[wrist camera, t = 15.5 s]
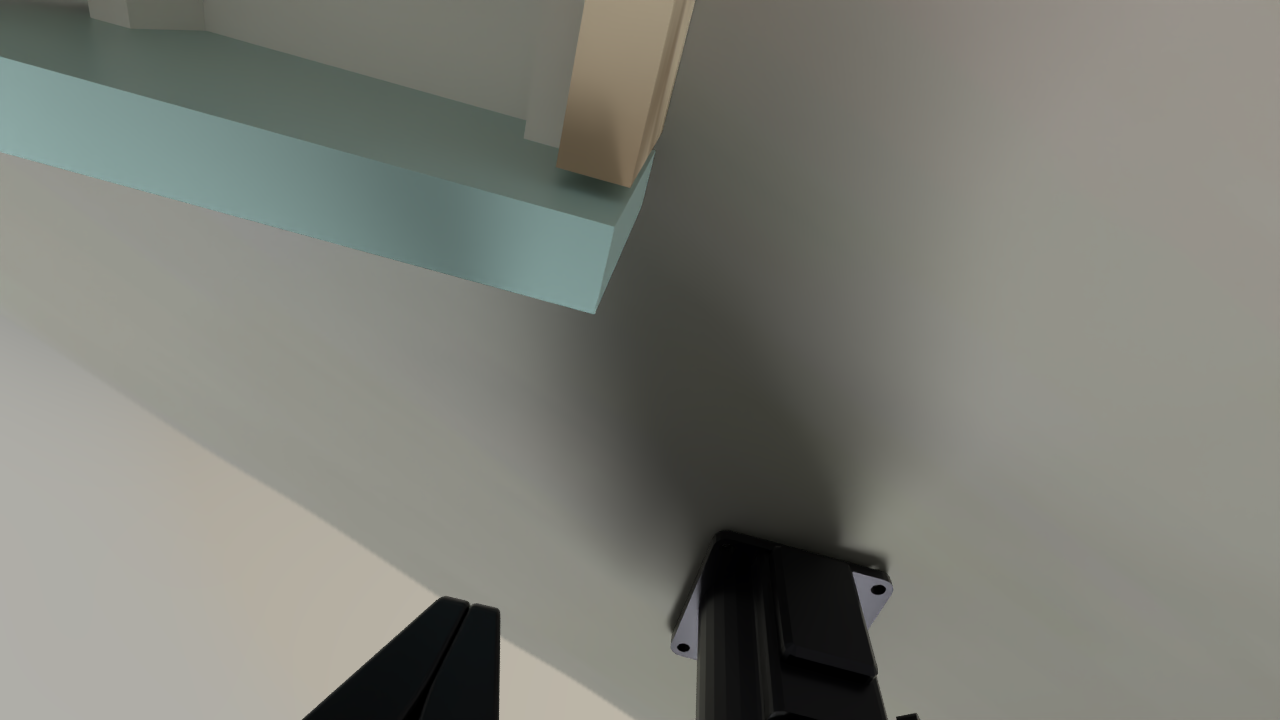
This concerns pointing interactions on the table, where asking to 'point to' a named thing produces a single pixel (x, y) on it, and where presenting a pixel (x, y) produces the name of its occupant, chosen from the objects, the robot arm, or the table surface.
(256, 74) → the tray
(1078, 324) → the table surface
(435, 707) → the robot arm
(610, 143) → the housing
